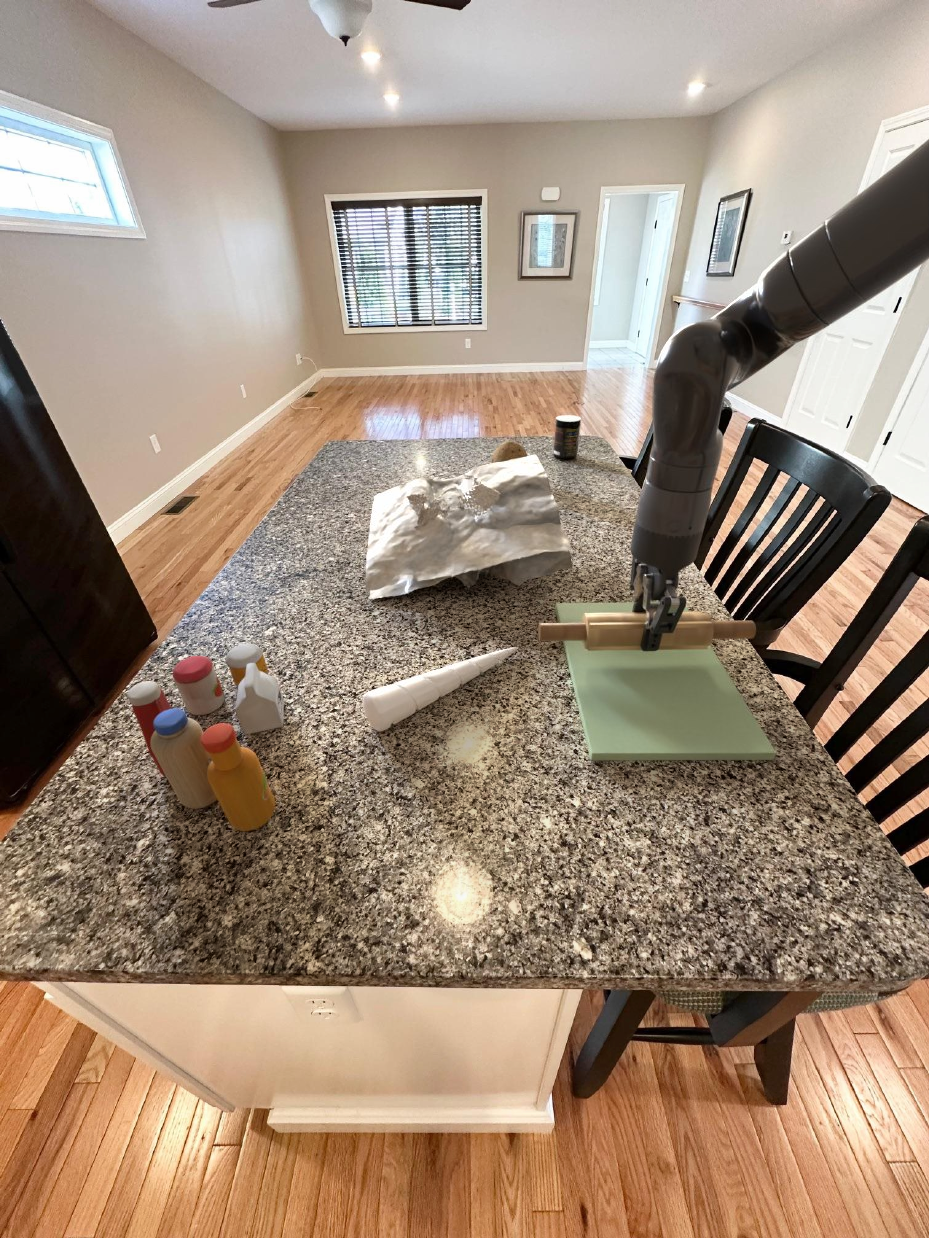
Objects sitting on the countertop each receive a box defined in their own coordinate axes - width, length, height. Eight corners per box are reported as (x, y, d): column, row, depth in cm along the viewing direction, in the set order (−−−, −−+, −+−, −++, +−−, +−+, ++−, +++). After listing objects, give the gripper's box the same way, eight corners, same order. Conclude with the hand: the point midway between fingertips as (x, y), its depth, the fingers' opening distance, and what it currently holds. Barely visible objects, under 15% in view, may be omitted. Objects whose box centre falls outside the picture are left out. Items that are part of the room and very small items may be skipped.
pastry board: (773, 760, 56) (776, 752, 56) (590, 760, 57) (591, 753, 56) (681, 608, 81) (683, 601, 80) (554, 609, 81) (555, 603, 81)
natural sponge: (483, 483, 127) (483, 443, 122) (501, 473, 133) (502, 433, 128) (515, 490, 123) (517, 448, 117) (532, 479, 129) (535, 438, 123)
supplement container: (582, 457, 142) (586, 418, 136) (565, 462, 139) (569, 423, 133) (564, 452, 147) (567, 413, 141) (547, 457, 143) (550, 418, 137)
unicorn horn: (536, 664, 70) (538, 636, 68) (380, 741, 60) (375, 711, 57) (514, 646, 74) (515, 619, 71) (362, 717, 63) (357, 688, 60)
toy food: (280, 827, 51) (248, 745, 44) (140, 860, 48) (83, 779, 41) (285, 661, 72) (265, 588, 65) (188, 678, 70) (156, 604, 63)
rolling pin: (739, 637, 71) (746, 606, 69) (756, 653, 67) (764, 621, 65) (536, 639, 71) (537, 609, 70) (540, 655, 67) (542, 623, 65)
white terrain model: (349, 566, 79) (364, 475, 103) (380, 639, 90) (387, 541, 113) (575, 519, 76) (537, 437, 100) (579, 600, 87) (544, 508, 111)
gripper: (728, 547, 53) (690, 672, 63) (681, 495, 65) (655, 607, 75) (655, 548, 53) (628, 673, 63) (622, 496, 65) (603, 608, 75)
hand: (643, 636), depth 69 cm, fingers closed on rolling pin, 4 cm apart
